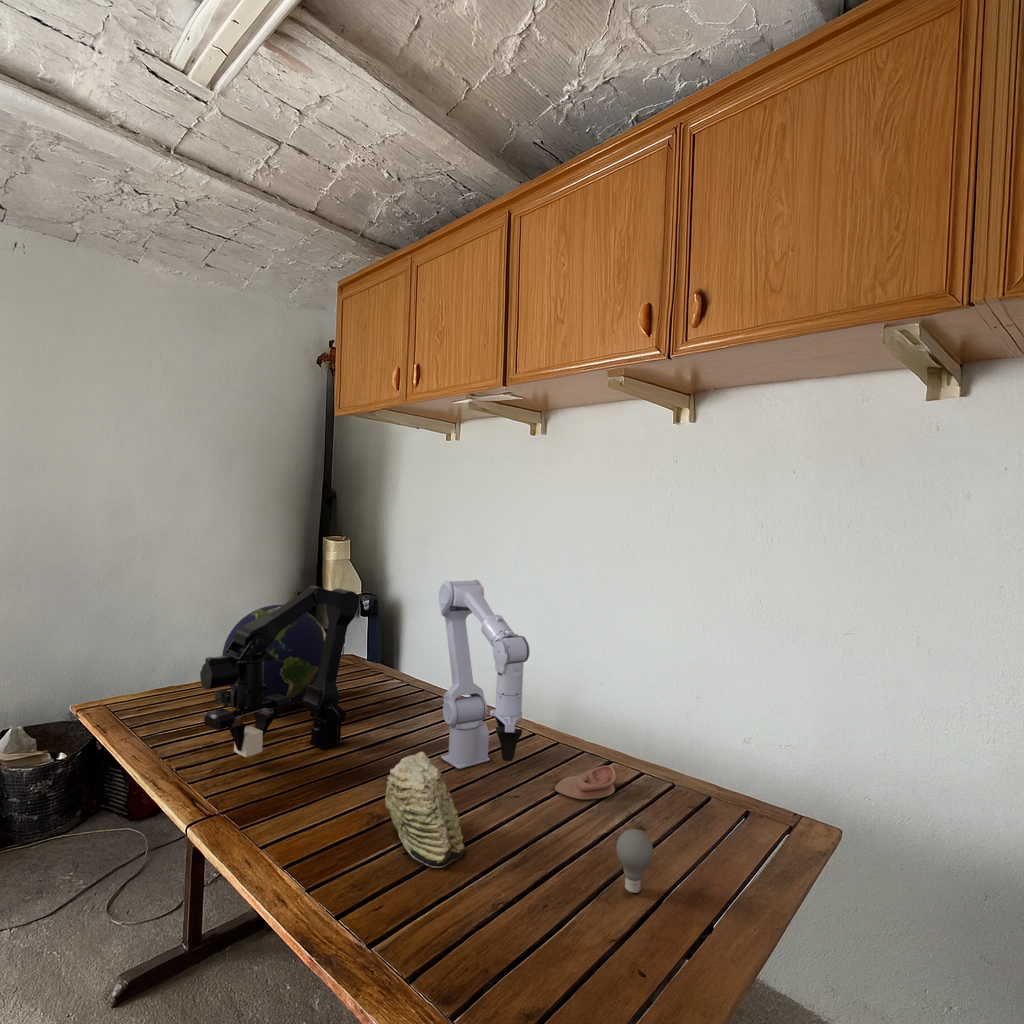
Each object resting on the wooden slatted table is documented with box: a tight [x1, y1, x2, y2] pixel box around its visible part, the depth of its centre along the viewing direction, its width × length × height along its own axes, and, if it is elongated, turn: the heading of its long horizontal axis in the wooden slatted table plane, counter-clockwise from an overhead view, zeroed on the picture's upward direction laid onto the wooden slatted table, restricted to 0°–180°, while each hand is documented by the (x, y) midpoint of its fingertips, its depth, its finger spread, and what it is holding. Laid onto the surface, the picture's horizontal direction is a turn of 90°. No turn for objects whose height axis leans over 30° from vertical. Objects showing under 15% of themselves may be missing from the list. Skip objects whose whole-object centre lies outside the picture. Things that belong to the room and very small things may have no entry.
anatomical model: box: [554, 765, 617, 800], centre depth 143 cm, size 13×4×12 cm
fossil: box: [384, 751, 466, 869], centre depth 117 cm, size 9×18×15 cm, turn 46°
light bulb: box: [615, 828, 654, 894], centre depth 106 cm, size 6×6×10 cm
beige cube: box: [233, 725, 264, 758], centre depth 147 cm, size 4×5×5 cm
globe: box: [221, 604, 327, 710], centre depth 188 cm, size 30×30×30 cm
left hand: (248, 747), depth 147 cm, fingers closed on beige cube, 4 cm apart
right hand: (506, 753), depth 139 cm, fingers open, 7 cm apart
